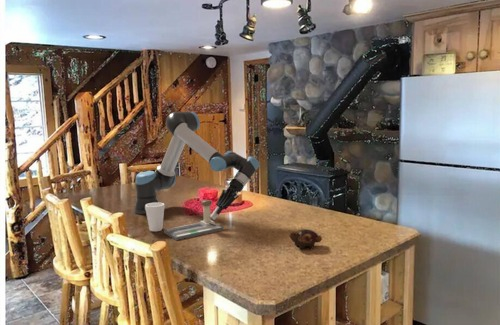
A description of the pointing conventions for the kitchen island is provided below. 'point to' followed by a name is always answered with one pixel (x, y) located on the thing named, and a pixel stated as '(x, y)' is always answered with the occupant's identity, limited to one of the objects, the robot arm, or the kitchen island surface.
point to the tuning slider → (206, 213)
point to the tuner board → (192, 230)
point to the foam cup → (155, 215)
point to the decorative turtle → (305, 238)
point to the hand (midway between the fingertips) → (212, 218)
